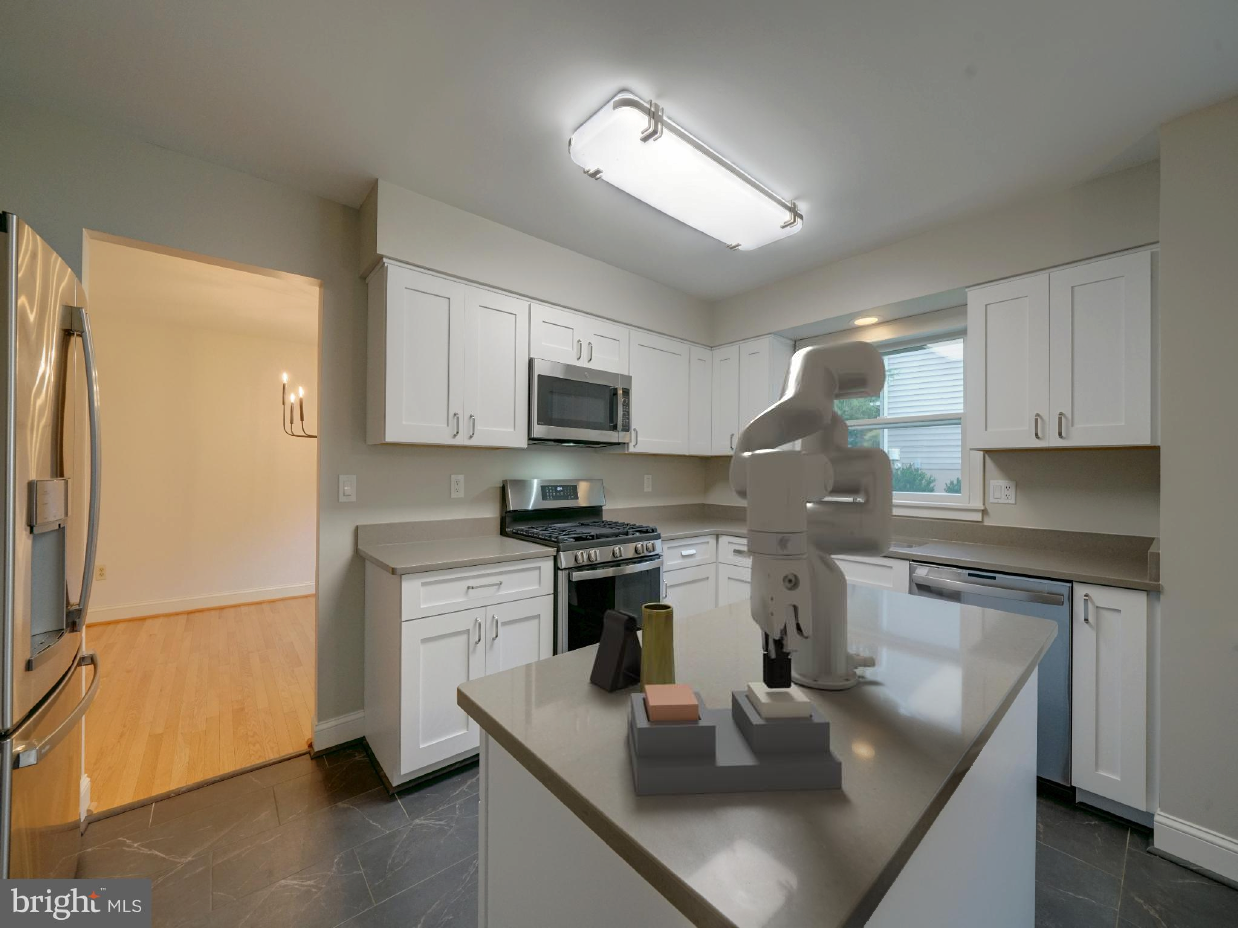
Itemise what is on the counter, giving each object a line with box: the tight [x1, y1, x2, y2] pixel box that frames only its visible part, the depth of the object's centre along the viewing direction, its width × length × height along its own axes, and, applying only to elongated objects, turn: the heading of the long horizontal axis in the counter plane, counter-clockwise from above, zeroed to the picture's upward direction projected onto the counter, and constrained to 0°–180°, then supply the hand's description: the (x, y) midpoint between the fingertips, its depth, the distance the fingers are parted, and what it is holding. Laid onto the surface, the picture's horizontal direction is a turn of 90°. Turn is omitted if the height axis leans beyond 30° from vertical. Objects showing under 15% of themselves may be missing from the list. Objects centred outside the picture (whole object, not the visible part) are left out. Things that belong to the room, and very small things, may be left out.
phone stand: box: [589, 608, 642, 694], centre depth 90 cm, size 9×6×12 cm, turn 127°
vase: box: [638, 602, 676, 693], centre depth 85 cm, size 6×6×14 cm
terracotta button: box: [645, 683, 699, 722], centre depth 65 cm, size 6×6×3 cm
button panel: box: [627, 690, 843, 796], centre depth 66 cm, size 24×14×6 cm, turn 93°
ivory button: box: [747, 681, 811, 718], centre depth 66 cm, size 6×6×3 cm
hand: (777, 685), depth 66 cm, fingers closed
